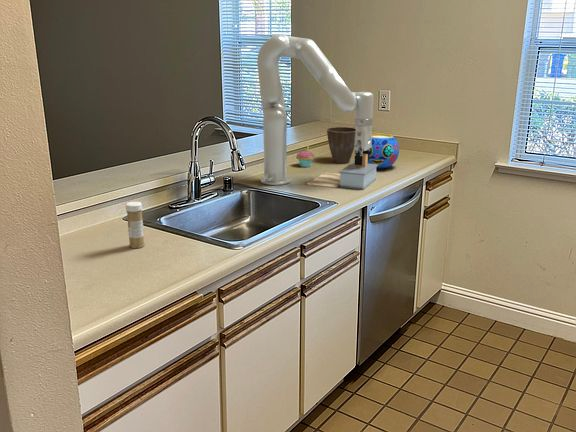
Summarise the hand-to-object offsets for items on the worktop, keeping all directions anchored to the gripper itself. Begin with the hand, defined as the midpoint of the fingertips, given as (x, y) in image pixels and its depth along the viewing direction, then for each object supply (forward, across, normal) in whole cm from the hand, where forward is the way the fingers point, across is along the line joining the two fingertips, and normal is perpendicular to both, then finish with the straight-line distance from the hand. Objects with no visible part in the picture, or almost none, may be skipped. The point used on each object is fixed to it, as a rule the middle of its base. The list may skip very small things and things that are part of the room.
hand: (361, 162), depth 251 cm
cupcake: (+8, +17, +33) cm, 38 cm away
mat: (+8, -4, +12) cm, 15 cm away
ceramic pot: (+8, +28, 0) cm, 29 cm away
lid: (+2, -4, 0) cm, 4 cm away
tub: (+8, -4, 0) cm, 9 cm away
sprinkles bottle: (+8, -103, +38) cm, 110 cm away
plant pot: (+8, +32, +20) cm, 39 cm away
